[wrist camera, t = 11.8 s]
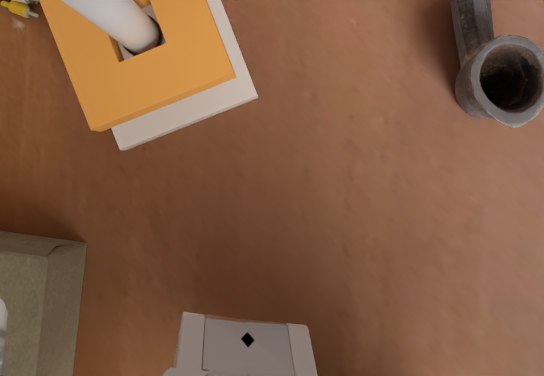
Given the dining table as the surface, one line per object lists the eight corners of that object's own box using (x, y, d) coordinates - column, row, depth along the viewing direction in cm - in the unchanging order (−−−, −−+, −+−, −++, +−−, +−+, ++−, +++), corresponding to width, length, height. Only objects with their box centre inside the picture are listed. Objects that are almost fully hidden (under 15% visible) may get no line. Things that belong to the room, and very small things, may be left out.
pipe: (487, -7, 45) (530, -45, 37) (512, 127, 45) (560, 118, 37) (423, 7, 45) (452, -27, 37) (448, 140, 45) (482, 134, 37)
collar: (236, 77, 38) (233, 72, 36) (100, 131, 39) (90, 129, 37) (182, -64, 38) (176, -76, 36) (46, -7, 39) (32, -16, 37)
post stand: (258, 97, 46) (230, 34, 24) (125, 150, 46) (-22, 136, 25) (205, -40, 45) (126, -234, 23) (71, 15, 46) (-127, -122, 24)
